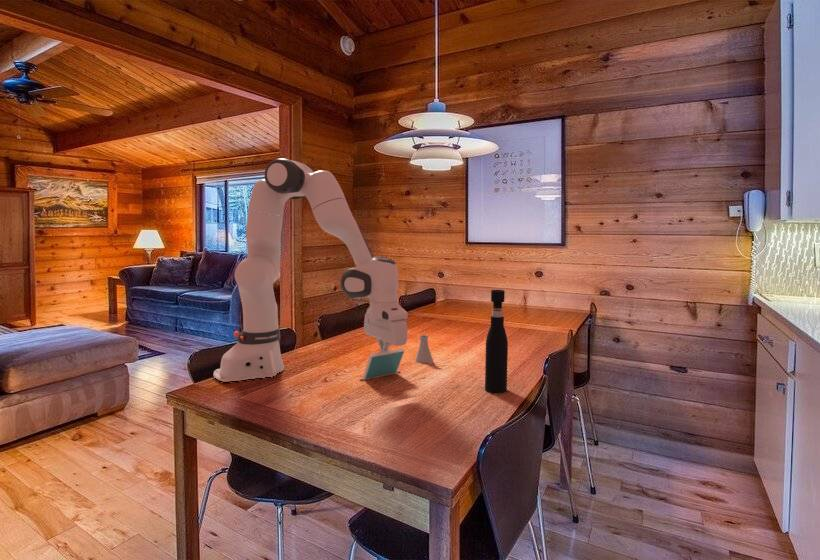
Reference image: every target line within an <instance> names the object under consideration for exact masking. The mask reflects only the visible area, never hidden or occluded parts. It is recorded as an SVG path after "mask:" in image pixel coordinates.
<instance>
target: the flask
mask: <svg viewBox="0 0 820 560" xmlns="http://www.w3.org/2000/svg"><path fill="white" fill-rule="evenodd" d="M428 338H429V335H427V334H421V335H419V339H420V340H419V347H418V349H417V352H416V355H415V357H414V358H415V359H414V360H415V363H419V364H420V363H421V364H429V365H431V366H432V365H433V364H435V362H434V359H433V356H432V354H431V350H430V347H429V341H428V340H429V339H428Z"/></svg>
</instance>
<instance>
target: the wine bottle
mask: <svg viewBox="0 0 820 560" xmlns="http://www.w3.org/2000/svg"><path fill="white" fill-rule="evenodd" d="M505 293H506V291H505V290H503V289H491V290H490V302H491V303H493V305H492V310H491V316H490V326H489V329H488V331H487V335H486V339H485V362H484V363H485V365H484V366H485V367H484V368H485V371H484V373H485V374H484V390H485V391H486V392H487V391H488V393H490V392H491V393H490V394H495V393H500V394H504V392H505V393H506V392H507V390H508V358H509V357H508V353H509V352H508V351H509V343H508V336H507V333H506V329H505V325H504V324H505V318H504V314H503V313H504V311H503V303H504V302H505V297H506V296H505Z"/></svg>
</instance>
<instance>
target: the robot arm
mask: <svg viewBox="0 0 820 560" xmlns="http://www.w3.org/2000/svg"><path fill="white" fill-rule="evenodd" d="M250 194H251V195H250V199H249V203H248V211H247V217H246V227H245V240H246V249H247V257H246V258H244V259H243V260H241V261H240V262H239V263H238V265H237V266H236V268H235V270H234V280H235V282H236V284H237V287H238V293H239V297H240V301H241V306H242V319H243V320H242V322H243V323H242V324H243V329H242V330H241V331H238V330H236V331H234V332H233V336H234V337H235V338H237V343H236V344H234V345H233V346H232V347H231V348H229V350H228V351H226V352H225V353H224V354H223V355H222V357H221V361H220V367H219V368H217V369H215V370H214V371H213V377H214V379H215V378H216V379H218V380H221V381H237V380H246V379H255V378H263V379H266V378H265V377H271V378H274V377H276V375H277V373H278V374H279V372H280V373H281V372H283V371H284V370H285V365H284V362H283V359H282V358H283V357H282V353H281V348H280V347H281V345H280V344H281V332H280V328H279V316H278V315H279V313H278V311H279V310H278V309H279V308H278V304H277V301H276V296H275V292H274V283H275V282H276V281H277V280H278V279H279V276H280V274H281V237H282V229H283V221H284V214H285V213H284V211H285V206H286V202H287V201H288V200H289V199H291V200H298V199H302V198H306V199H307V201H308V203H309V205H310V208H311V211H312V214H313V217H314V219H315V221H316V223H317V224H318V226H319V227H320V228H321V230H322V231H323V232H325V233H327V234H329V235H332V236H334V237H335V238H338V239H339V240H340V241H342V242H343V244H345V246H346V247H347V248H348V251H349V252H350V255H351V257H352V259H353V262H354V263H355V265H356V266H354V267H351V268H348V269H347V270H345V271H344V272H343V273H342V275H341V277H340V282H339V284H340V288H341V291H342V292H343V294H344V295H345V296H346V297H348V298H349V299H360V298H365V297H366V298H369V306H368V308H367V309H366V312H365V314H364V320H363V331H364V333H365V334H366V335H368V336H371V337H373V338H375V339H377V344H378V347H379V352H384V351H390V347H391V345H392V346H395V347H399V346H400V347H401V346H405V345H406V343H407V342H408V323H407V321H406V320H407V319H408V316H409V314H408V312H407V311H406V310H405V309H404V308H403V307H402V306H401V305H400V304H399V296H398V290H399V271H398V270H399V269H398V265H397V263H396V261H395V260H394V259H392V258H389V257H385V256H373V253H372V251H371V250H370V247H369V245H368V243H367V240H366V239H365V236H364V234H363V232H362V230H361V229H360V227H359V225H358V223H357V221H356V219H355V218H354V216H353V214H352V211H351V208H350V206H349V203H348V202H347V199H346V197H345V194H344V192H343V190H342V188H341V185H340V184H339V181H338V180H337V179H336V177H335V176H334V174H333V173H332V172H330V171H328V170H317V171H316V170H314V169H313V168H312V167H311V166H309V165H306V164H304V163H303V162H299V161H297V160H291V159H289V158H276V159H273V160H271V161H269V163H268V164H267V165H266V167H265V169H264V178H263V179H259V180H257V181H255V183H254V184H253V187H252V190H251V193H250ZM273 376H274V377H273ZM216 379H215V380H216ZM255 380H256V379H255Z"/></svg>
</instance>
